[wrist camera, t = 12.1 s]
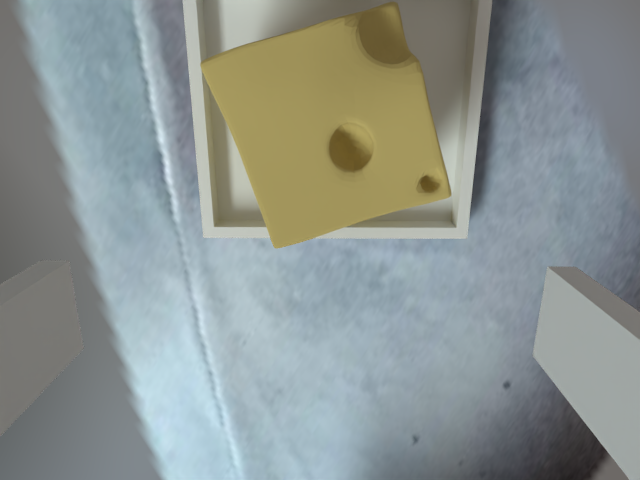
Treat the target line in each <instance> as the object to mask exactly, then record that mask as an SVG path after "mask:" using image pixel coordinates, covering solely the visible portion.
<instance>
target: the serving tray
mask: <svg viewBox="0 0 640 480" xmlns="http://www.w3.org/2000/svg"><path fill="white" fill-rule="evenodd" d="M388 2H396V3H398V6H399V10H400V14H401V20H402V25H403V30H404V35H405V39H406V42H407V46H408V48H409V50H410V52H411V53H412V54H413V55H414V56H415V57H416V58H417V59H418V60H419V62H420V65H421V68H422V71H423V75H424V80H425V85H426V90H427V95H428V100H429V104H430V109H431V113H432V117H433V121H434V125H435V129H436V133H437V137H438V141H439V145H440V148H441V152H442V156H443V160H444V164H445V168H446V171H447V175H448V179H449V184H450V188H451V193H452V194H451V196H450V197H449V198H447V199H443V200H439V201H435V202H432V203H428V204H424V205H419V206H415V207H411V208H407V209H403V210H399V211H395V212H392V213H388V214H384V215H381V216H377V217H374V218H371V219H368V220H365V221H362V222H358V223H356V224H353V225H350V226H347V227H344V228H341V229H338V230H335V231H333V232H330V233H327V234H324V235H321V236H318V237H316V238H403V239H467V234H468V225H469V216H470V206H471V197H472V187H473V178H474V169H475V159H476V150H477V140H478V131H479V121H480V112H481V103H482V93H483V84H484V74H485V65H486V56H487V46H488V37H489V27H490V18H491V9H492V0H183V9H184V21H185V32H186V44H187V55H188V67H189V78H190V90H191V101H192V113H193V124H194V136H195V147H196V158H197V170H198V181H199V193H200V204H201V216H202V227H203V238H270V236H269V233H268V230H267V227H266V224H265V222H264V219H263V216H262V213H261V211H260V208H259V205H258V202H257V200H256V197H255V194H254V192H253V189H252V186H251V184H250V181H249V178H248V175H247V173H246V170H245V167H244V165H243V162H242V159H241V156H240V154H239V151H238V149H237V146H236V144H235V141H234V139H233V136H232V134H231V132H230V130H229V127H228V125H227V123H226V121H225V119H224V117H223V115H222V112H221V110H220V108H219V106H218V104H217V102H216V100H215V98H214V96H213V94H212V92H211V90H210V88H209V85H208V83H207V81H206V79H205V76H204V74H203V72H202V70H201V67H200V63H201V62H202V61H203V60H205V59H207V58H209V57H212V56H214V55H217V54H219V53H222V52H224V51H227V50H230V49H233V48H236V47H238V46H241V45H245V44H248V43H252V42H256V41H259V40H263V39H267V38H270V37H274V36H278V35H281V34H285V33H288V32H291V31H295V30H298V29H301V28H304V27H308V26H311V25H314V24H317V23H320V22H323V21H326V20H330V19H333V18H337V17H340V16H344V15H349V14H353V13H357V12H361V11H365V10H369V9H371V8H374V7H377V6H379V5H382V4H385V3H388Z"/></svg>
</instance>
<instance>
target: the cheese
mask: <svg viewBox="0 0 640 480" xmlns="http://www.w3.org/2000/svg"><path fill="white" fill-rule="evenodd" d="M200 67H201V70H202V72H203V74H204V76H205V79H206V81H207V83H208V85H209V88H210V90H211V92H212V94H213V96H214V98H215V100H216V102H217V104H218V106H219V108H220V110H221V112H222V115H223V117H224V119H225V121H226V123H227V125H228V127H229V130H230V132H231V134H232V136H233V139H234V141H235V144H236V146H237V149H238V151H239V154H240V156H241V159H242V162H243V165H244V167H245V170H246V173H247V175H248V178H249V181H250V184H251V186H252V189H253V192H254V194H255V197H256V200H257V202H258V205H259V208H260V211H261V213H262V216H263V219H264V222H265V224H266V227H267V230H268V233H269V236H270V238H271V241H272V244H273V246H274V248H282V247H285V246H289V245H293V244H296V243H300V242H303V241H306V240H310V239H313V238H316V237H318V236H321V235H324V234H327V233H330V232H333V231H335V230H338V229H341V228H344V227H347V226H350V225H353V224H356V223H358V222H362V221H365V220H368V219H371V218H374V217H377V216H381V215H384V214H388V213H392V212H395V211H399V210H403V209H407V208H411V207H415V206H419V205H424V204H428V203H432V202H435V201H439V200H443V199H447V198H449V197H450V196H451V194H452V193H451V188H450V184H449V179H448V175H447V171H446V168H445V164H444V160H443V156H442V152H441V148H440V145H439V141H438V137H437V133H436V129H435V125H434V121H433V117H432V113H431V109H430V104H429V100H428V95H427V90H426V85H425V80H424V75H423V71H422V68H421V65H420V62H419V60H418V59H417V58H416V57H415V56H414V55H413V54H412V53H411V52H410V50H409V48H408V46H407V42H406V39H405V35H404V30H403V25H402V20H401V14H400V10H399V6H398V3H396V2H388V3H385V4H382V5H379V6H377V7H374V8H371V9H369V10H365V11H361V12H357V13H353V14H349V15H344V16H340V17H337V18H333V19H330V20H326V21H323V22H320V23H317V24H314V25H311V26H308V27H304V28H301V29H298V30H295V31H291V32H288V33H285V34H281V35H278V36H274V37H270V38H267V39H263V40H259V41H256V42H252V43H248V44H245V45H241V46H238V47H236V48H233V49H230V50H227V51H224V52H222V53H219V54H217V55H214V56H212V57H209V58H207V59H205V60H203V61H202V62H201V63H200Z"/></svg>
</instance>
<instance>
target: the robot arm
mask: <svg viewBox="0 0 640 480" xmlns="http://www.w3.org/2000/svg"><path fill="white" fill-rule="evenodd" d="M83 349H84V347H83V341H82V336H81V329H80V323H79V318H78V311H77V306H76V299H75V293H74V287H73V281H72V275H71V270H70V263H69V261H65V260H41V261H39V262H38V263H36V264H34V265H33V266H31V267H29V268H28V269H26V270H24V271H22V272H21V273H19V274H17V275H16V276H14V277H12V278H10V279H9V280H7V281H5V282H4V283H2V284H0V436H1V435H2V434H3V433H4V432H5V431H6V430H7V429H8V428H9V427H10V426H11V425H12V424H13V423H14V422H15V421H16V419H17V418H18V417H19V416H20V415H21V414H22V413H23V412H24V411H25V410H26V409H27V408H28V407H29V406H30V405H31V404H32V403H33V402H34V401H35V399H36V398H37V397H38V396H39V395H40V394H41V393H42V392H43V391H44V390H45V389H46V388H47V387H48V386H49V385H50V384H51V383H52V382H53V380H54V379H55V378H56V377H57V376H58V375H59V374H60V373H61V372H62V371H63V370H64V369H65V368H66V367H67V366H68V365H69V364H70V363H71V362H72V360H73V359H74V358H75V357H76V356H77V355H78V354H79V353H80V352H81V351H82V350H83ZM533 357H534V358H535V359H536V360H537V362H538V363H539V364H540V366H541V367H542V368H543V369H544V371H545V372H546V373H547V375H548V376H549V377H550V378H551V380H552V381H553V382H554V384H555V385H556V386H557V387H558V389H559V390H560V391H561V393H562V394H563V395H564V396H565V398H566V399H567V400H568V402H569V403H570V404H571V405H572V407H573V408H574V409H575V411H576V412H577V413H578V414H579V416H580V417H581V418H582V420H583V421H584V422H585V423H586V425H587V426H588V427H589V429H590V430H591V431H592V432H593V434H594V435H595V436H596V438H597V439H598V440H599V441H600V443H601V444H602V445H603V447H604V448H605V449H606V450H607V452H608V453H609V454H610V456H611V457H612V458H613V459H614V461H615V462H616V463H617V465H618V466H619V467H620V468H621V470H622V471H623V472H624V474H625V475H626V476H627V477H628V479H629V480H640V312H639V311H637V310H636V309H635V308H633V307H632V306H630V305H629V304H627V303H626V302H625V301H623V300H622V299H620V298H619V297H618V296H616V295H615V294H613V293H612V292H610V291H609V290H608V289H606V288H605V287H603V286H602V285H601V284H599V283H598V282H596V281H595V280H593V279H592V278H591V277H589V276H588V275H586V274H585V273H584V272H582V271H581V270H579V269H578V268H576V267H547V272H546V278H545V284H544V290H543V296H542V302H541V308H540V314H539V320H538V326H537V332H536V338H535V344H534V350H533Z"/></svg>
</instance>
